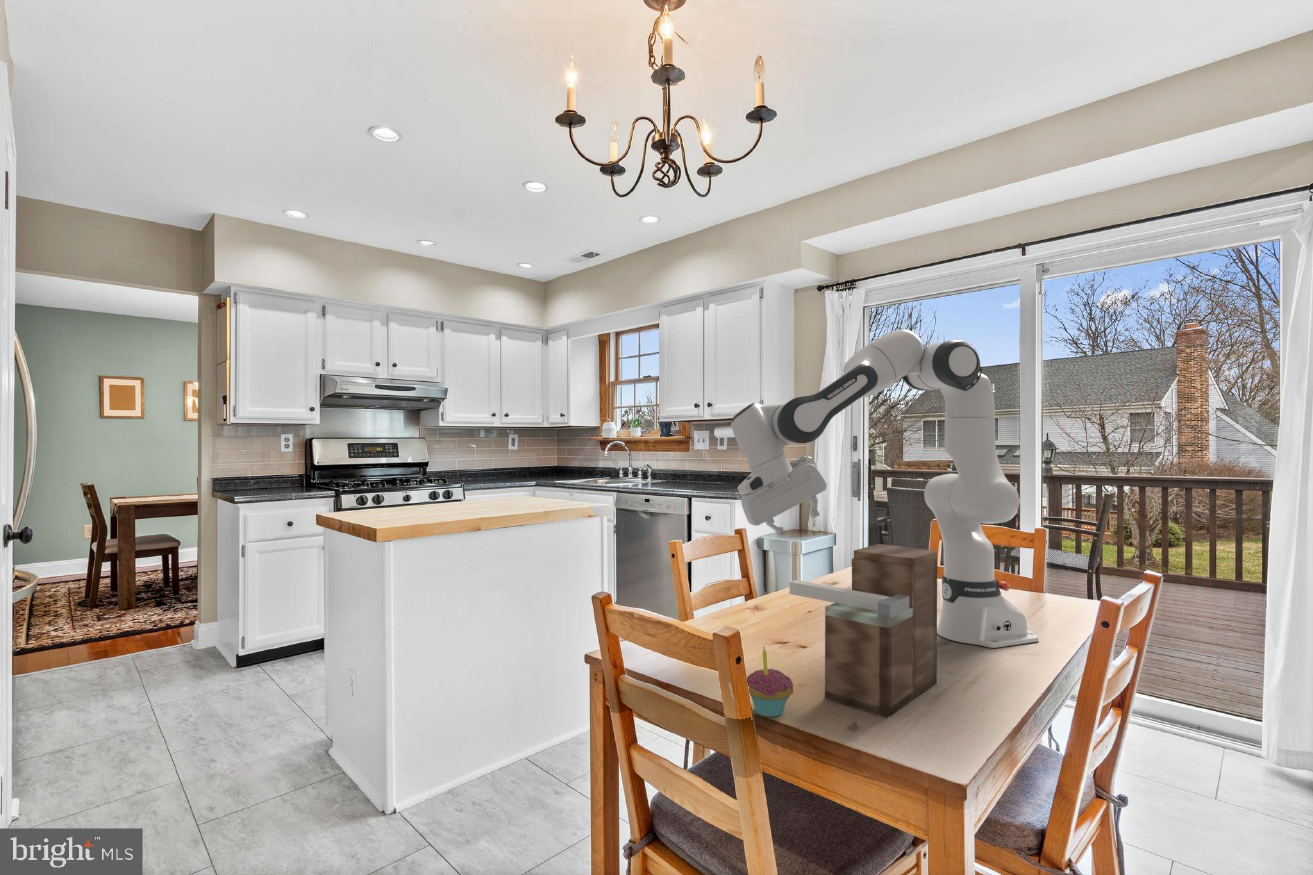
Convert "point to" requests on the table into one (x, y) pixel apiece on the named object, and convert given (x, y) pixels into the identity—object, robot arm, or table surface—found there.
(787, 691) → the cupcake
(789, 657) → the table surface
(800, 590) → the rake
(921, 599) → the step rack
